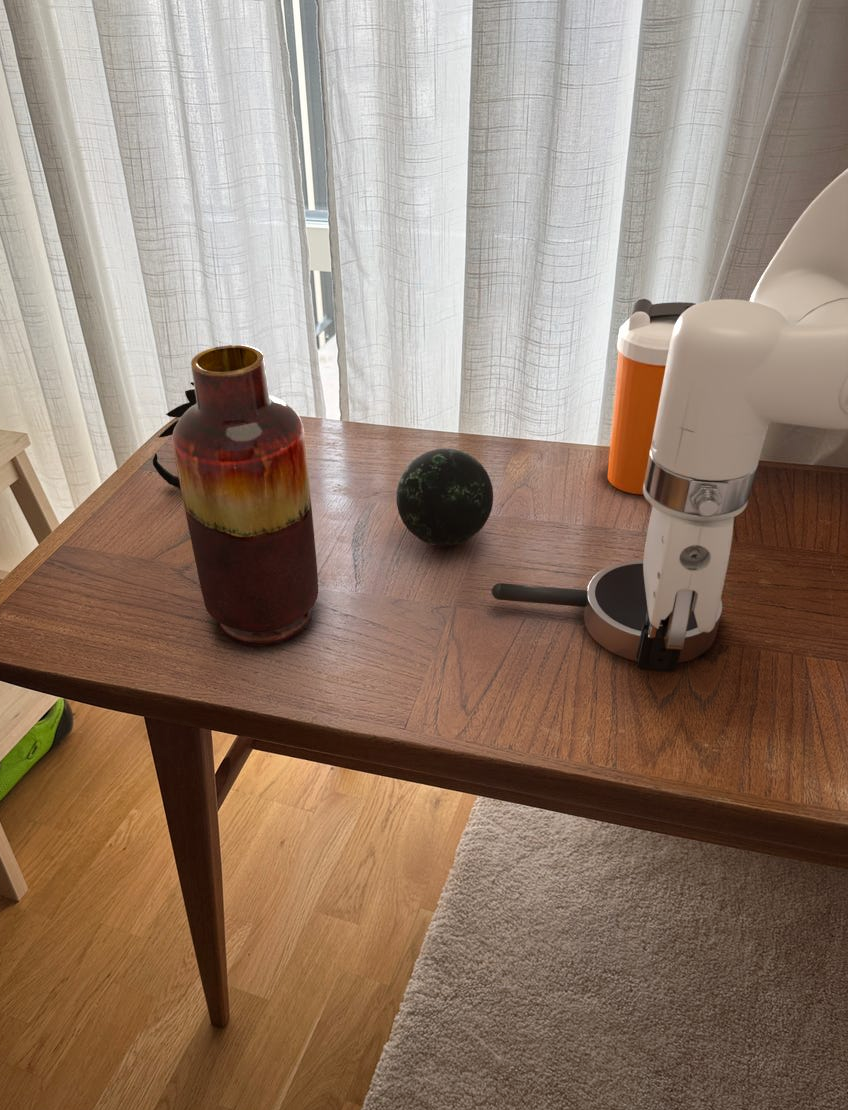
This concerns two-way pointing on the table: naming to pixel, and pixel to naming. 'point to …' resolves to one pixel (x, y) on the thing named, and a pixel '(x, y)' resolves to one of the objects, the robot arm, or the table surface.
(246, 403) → the vase
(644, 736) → the table surface
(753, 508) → the table surface
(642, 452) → the shaker bottle
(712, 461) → the robot arm
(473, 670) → the table surface
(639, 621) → the pan
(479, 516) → the decorative stone
